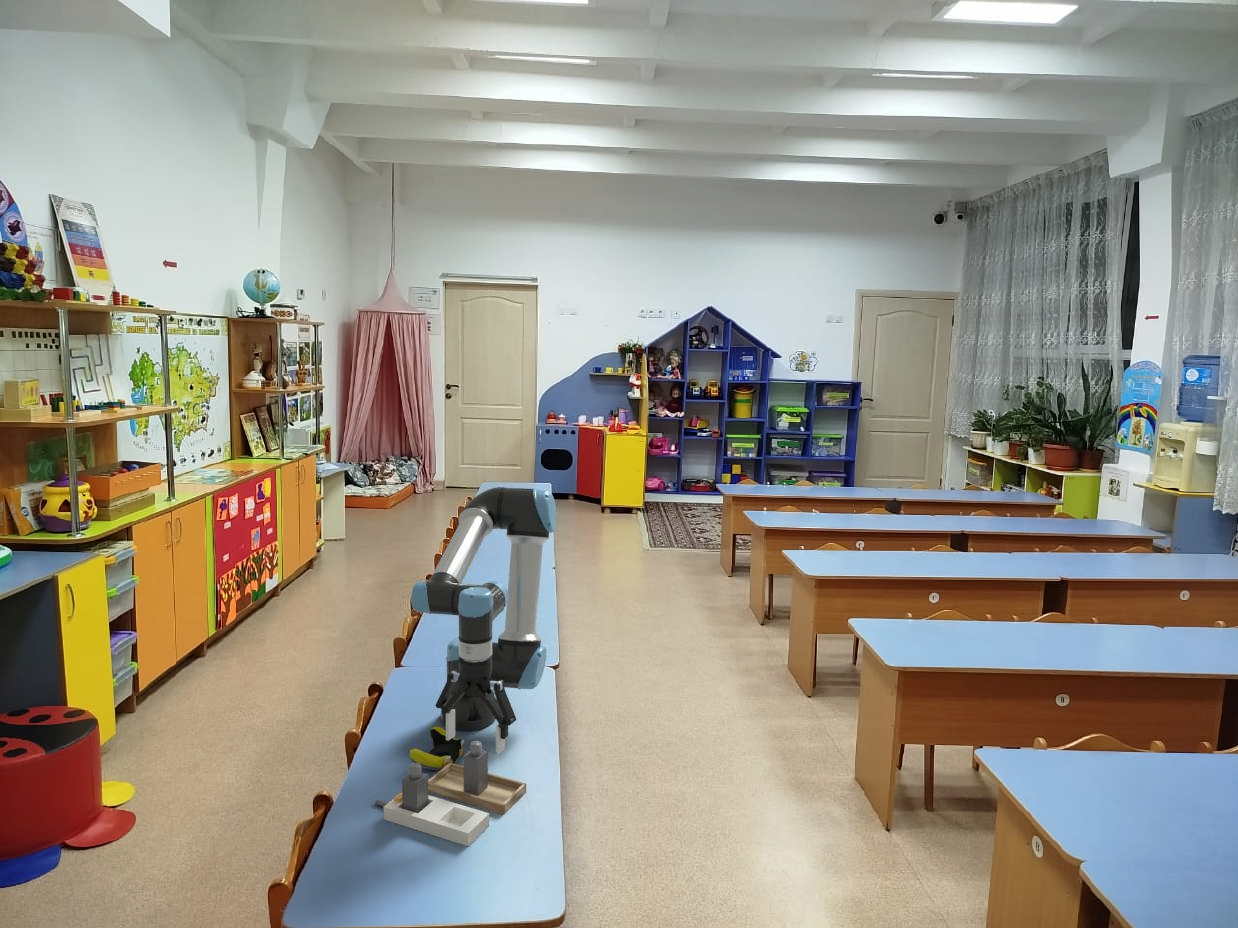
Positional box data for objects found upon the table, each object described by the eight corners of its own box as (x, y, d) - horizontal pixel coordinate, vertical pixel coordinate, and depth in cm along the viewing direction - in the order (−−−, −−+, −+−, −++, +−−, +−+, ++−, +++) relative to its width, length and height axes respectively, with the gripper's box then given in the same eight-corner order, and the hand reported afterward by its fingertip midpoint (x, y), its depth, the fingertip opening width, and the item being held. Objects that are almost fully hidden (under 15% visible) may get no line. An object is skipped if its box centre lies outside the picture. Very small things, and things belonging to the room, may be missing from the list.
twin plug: (413, 806, 186) (413, 759, 184) (428, 811, 185) (428, 763, 183) (402, 816, 183) (401, 768, 181) (417, 821, 181) (416, 772, 179)
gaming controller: (406, 772, 202) (444, 778, 199) (405, 751, 201) (444, 757, 199) (433, 743, 216) (469, 748, 214) (433, 723, 215) (469, 728, 213)
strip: (387, 794, 192) (386, 779, 191) (489, 825, 181) (489, 809, 180) (363, 812, 185) (363, 796, 184) (468, 846, 174) (468, 829, 173)
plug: (473, 783, 196) (473, 737, 195) (487, 787, 195) (487, 741, 193) (463, 791, 193) (463, 745, 191) (478, 795, 191) (478, 749, 189)
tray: (450, 770, 203) (450, 762, 202) (526, 792, 194) (526, 783, 194) (425, 791, 194) (425, 782, 193) (503, 814, 185) (503, 805, 185)
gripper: (420, 652, 190) (420, 739, 193) (514, 672, 180) (513, 763, 183) (439, 641, 197) (439, 725, 200) (531, 660, 187) (530, 748, 190)
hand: (475, 744), depth 192 cm, fingers open, 13 cm apart
